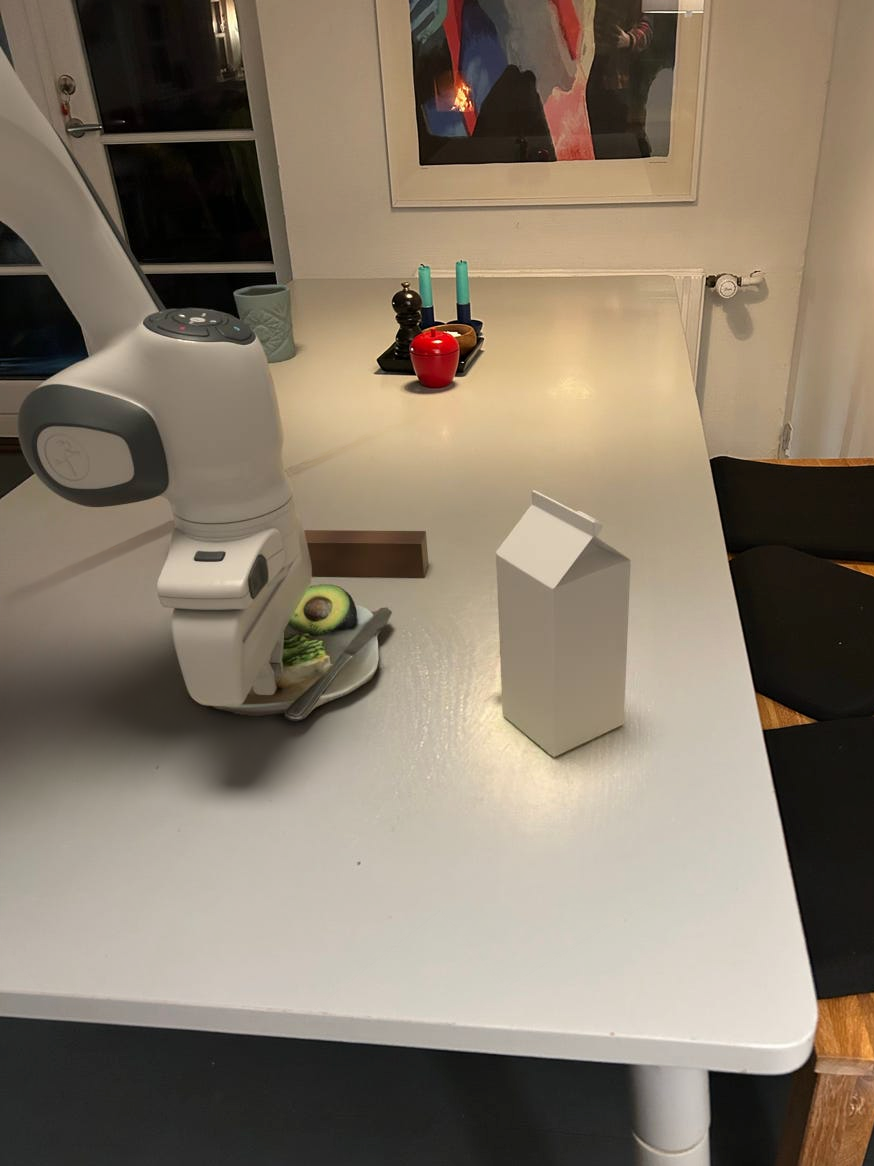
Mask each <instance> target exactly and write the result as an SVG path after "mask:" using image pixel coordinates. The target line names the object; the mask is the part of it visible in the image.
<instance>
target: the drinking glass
mask: <svg viewBox="0 0 874 1166" xmlns="http://www.w3.org/2000/svg"><path fill="white" fill-rule="evenodd" d="M233 297H234V302H235V304H236V309H237V314H238V316H239V320H241V321H243V322H245V323H246V324H247V325H248V326H250V328H251V329H252V330H253V331H254V332H255V334H256V335H257V337H258V339H259V341H260V343H261V345H262V347H263V350H264V352H265V355H266V358H267V361H268V364H271V363H280V362H285V361H288V360H290V359H292V358H294V357H295V356H296V344H295V338H294V331H293V326H294V325H293V319H292V300H291V299H292V298H291V288H290V287H289V286H288V285H284V284H262V285H252V286H247V287H246V286H245V287H243V288H240V289H236V290H235V291H233Z"/></svg>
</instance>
